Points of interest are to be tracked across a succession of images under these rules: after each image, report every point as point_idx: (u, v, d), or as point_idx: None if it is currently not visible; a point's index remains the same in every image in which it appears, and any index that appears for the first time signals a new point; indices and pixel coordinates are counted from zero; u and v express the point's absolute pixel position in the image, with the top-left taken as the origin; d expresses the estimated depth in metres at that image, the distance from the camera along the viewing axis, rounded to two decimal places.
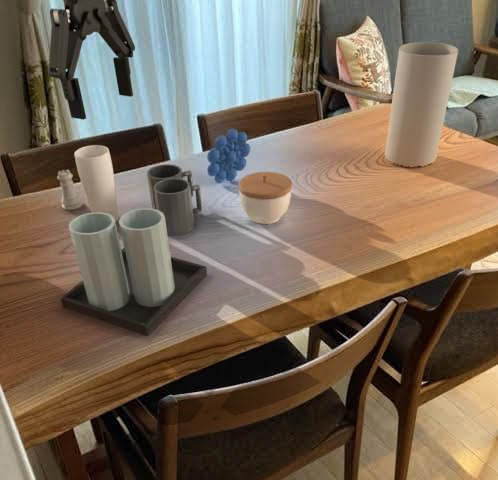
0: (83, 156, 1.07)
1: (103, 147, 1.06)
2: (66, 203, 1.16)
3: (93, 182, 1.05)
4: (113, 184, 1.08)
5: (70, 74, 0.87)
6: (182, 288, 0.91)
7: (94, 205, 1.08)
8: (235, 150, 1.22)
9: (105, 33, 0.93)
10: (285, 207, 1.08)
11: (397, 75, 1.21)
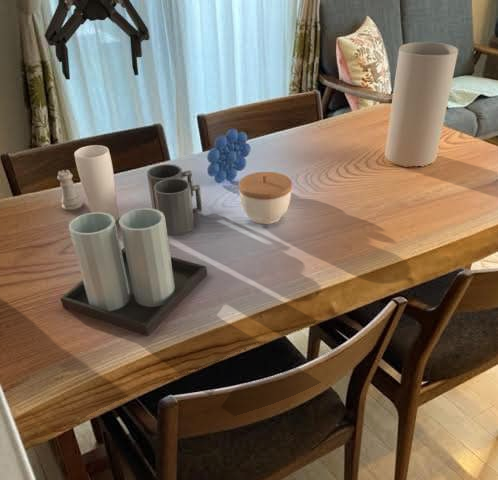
0: (83, 156, 1.07)
1: (103, 147, 1.06)
2: (66, 203, 1.16)
3: (93, 182, 1.05)
4: (113, 184, 1.08)
5: None
6: (182, 288, 0.91)
7: (94, 205, 1.08)
8: (235, 150, 1.22)
9: (79, 22, 1.08)
10: (285, 207, 1.08)
11: (397, 75, 1.21)
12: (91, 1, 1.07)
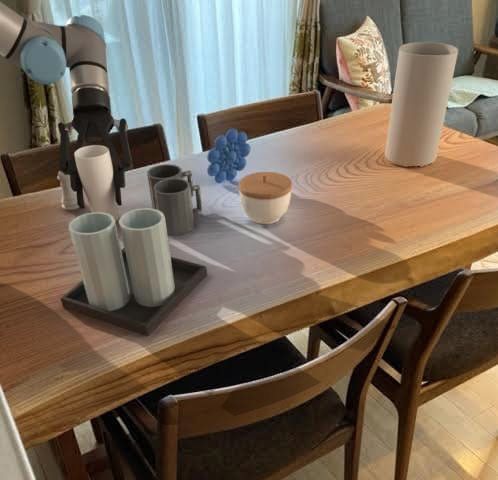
0: (83, 156, 1.07)
1: (103, 147, 1.06)
2: (66, 203, 1.16)
3: (93, 182, 1.05)
4: (113, 184, 1.08)
5: None
6: (182, 288, 0.91)
7: (94, 205, 1.08)
8: (235, 150, 1.22)
9: (84, 146, 1.09)
10: (285, 207, 1.08)
11: (397, 74, 1.21)
12: (89, 124, 1.08)
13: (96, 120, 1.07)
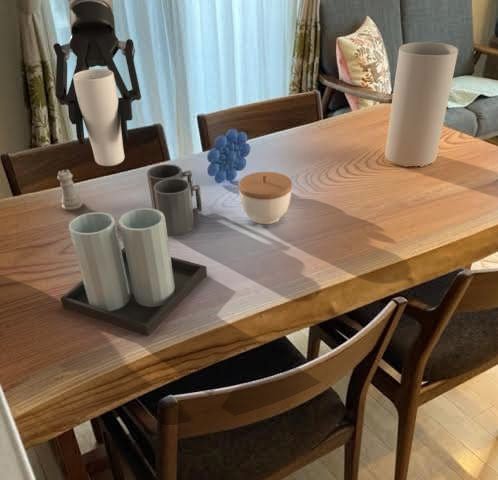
0: None
1: (106, 71, 0.91)
2: (66, 203, 1.16)
3: (95, 111, 0.89)
4: (118, 115, 0.93)
5: None
6: (182, 288, 0.91)
7: (96, 140, 0.93)
8: (235, 150, 1.22)
9: None
10: (285, 207, 1.08)
11: (397, 74, 1.21)
12: (90, 45, 0.92)
13: (98, 40, 0.92)
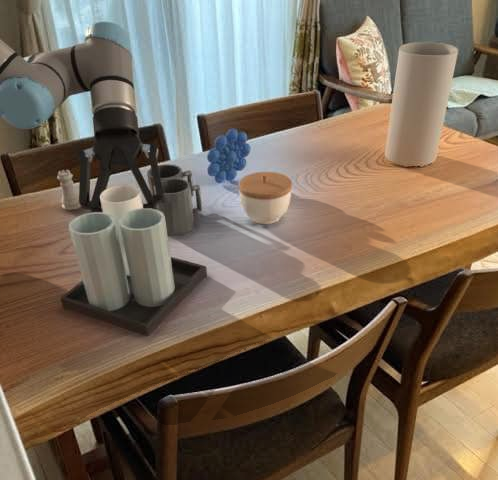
0: (109, 197, 0.91)
1: (133, 187, 0.90)
2: (66, 203, 1.16)
3: None
4: None
5: None
6: (182, 288, 0.91)
7: (122, 254, 0.93)
8: (235, 150, 1.22)
9: (108, 175, 0.92)
10: (285, 207, 1.08)
11: (397, 74, 1.21)
12: (114, 150, 0.91)
13: (122, 145, 0.90)
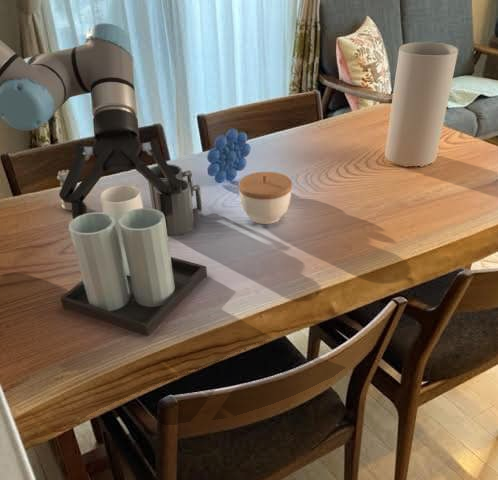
0: (109, 197, 0.91)
1: (133, 187, 0.91)
2: (66, 203, 1.16)
3: None
4: None
5: None
6: (182, 288, 0.91)
7: (122, 254, 0.93)
8: (235, 150, 1.22)
9: (100, 175, 0.92)
10: (285, 207, 1.08)
11: (397, 74, 1.21)
12: (114, 152, 0.91)
13: (122, 147, 0.90)
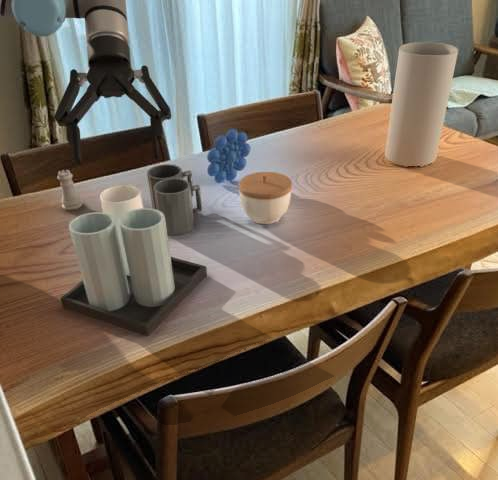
0: (109, 197, 0.91)
1: (133, 187, 0.91)
2: (66, 203, 1.16)
3: None
4: None
5: None
6: (182, 288, 0.91)
7: (122, 254, 0.93)
8: (235, 150, 1.22)
9: (93, 100, 0.96)
10: (285, 207, 1.08)
11: (397, 74, 1.21)
12: (106, 77, 0.95)
13: (114, 73, 0.95)
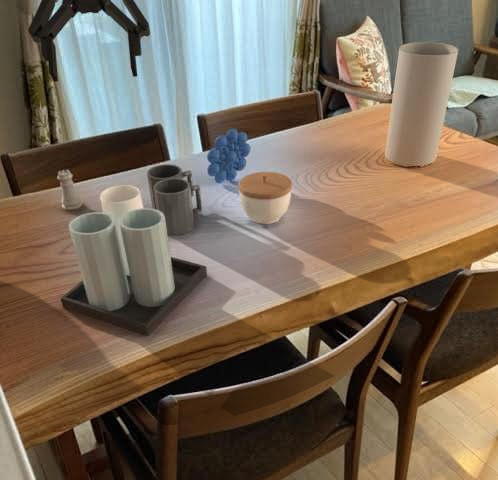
0: (109, 197, 0.91)
1: (133, 187, 0.91)
2: (66, 203, 1.16)
3: None
4: None
5: None
6: (182, 288, 0.91)
7: (122, 254, 0.93)
8: (235, 150, 1.22)
9: (69, 15, 0.93)
10: (285, 207, 1.08)
11: (397, 74, 1.21)
12: None
13: None
